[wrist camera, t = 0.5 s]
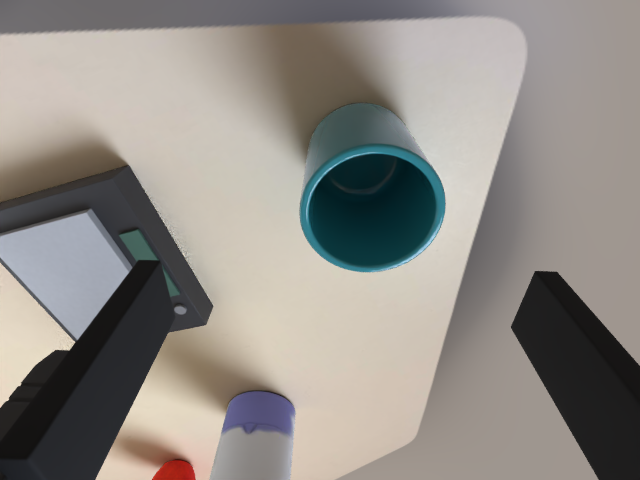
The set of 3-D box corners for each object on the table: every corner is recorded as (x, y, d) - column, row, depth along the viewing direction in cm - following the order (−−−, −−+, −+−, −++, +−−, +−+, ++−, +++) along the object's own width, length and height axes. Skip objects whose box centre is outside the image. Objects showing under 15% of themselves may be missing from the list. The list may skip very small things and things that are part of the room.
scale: (-13, 206, 35) (-47, 226, 32) (129, 164, 33) (107, 181, 30) (96, 330, 45) (78, 355, 41) (213, 306, 42) (204, 330, 39)
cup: (368, 236, 36) (382, 316, 27) (286, 148, 32) (269, 208, 22) (447, 183, 33) (495, 253, 24) (369, 76, 28) (390, 109, 19)
